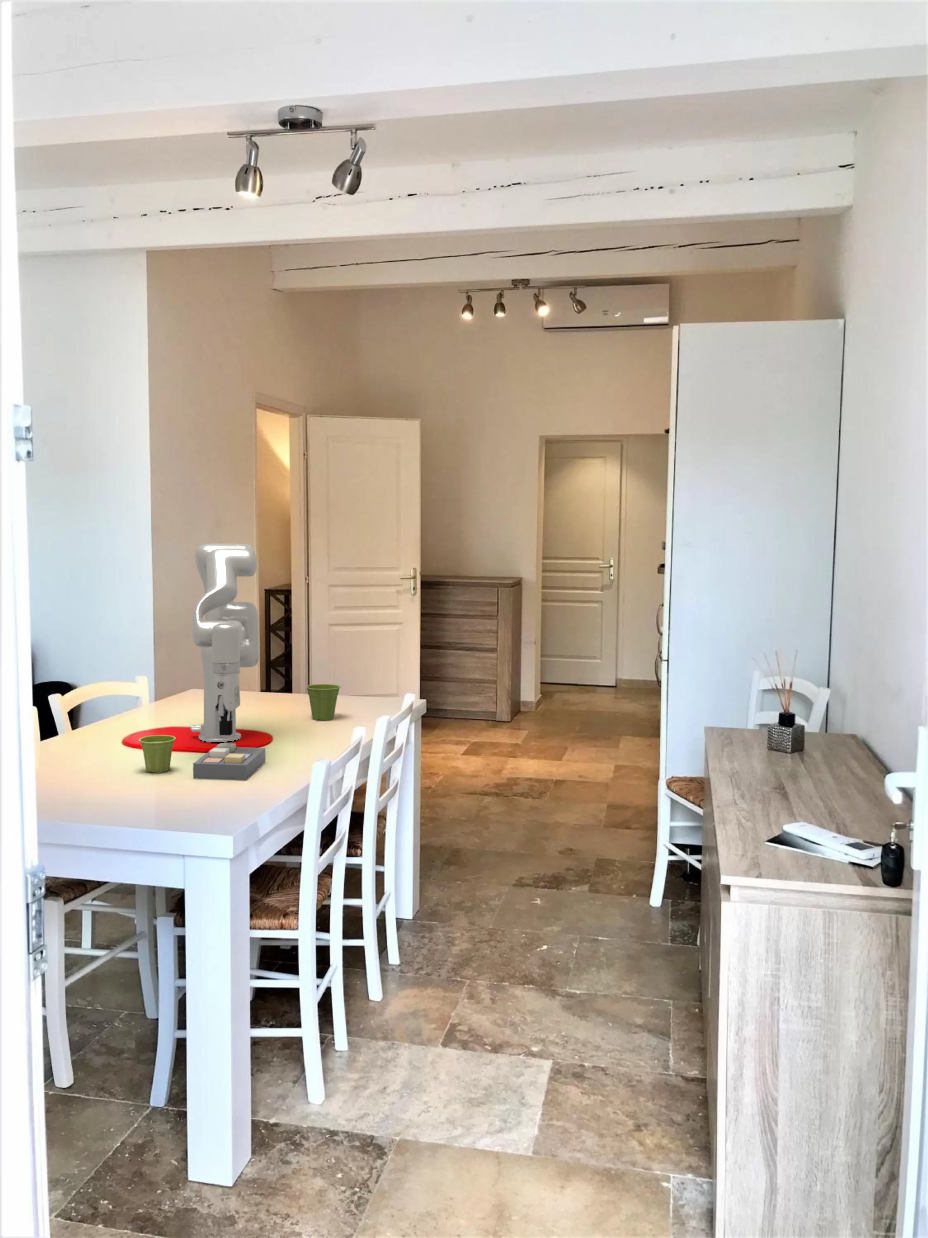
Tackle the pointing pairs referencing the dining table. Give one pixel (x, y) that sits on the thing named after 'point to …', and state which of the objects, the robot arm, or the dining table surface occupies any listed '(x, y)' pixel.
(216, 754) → the key cream
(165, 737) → the plant pot
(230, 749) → the key sage
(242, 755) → the key ochre
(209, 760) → the key terracotta
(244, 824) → the dining table surface
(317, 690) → the plant pot
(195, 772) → the keypad
